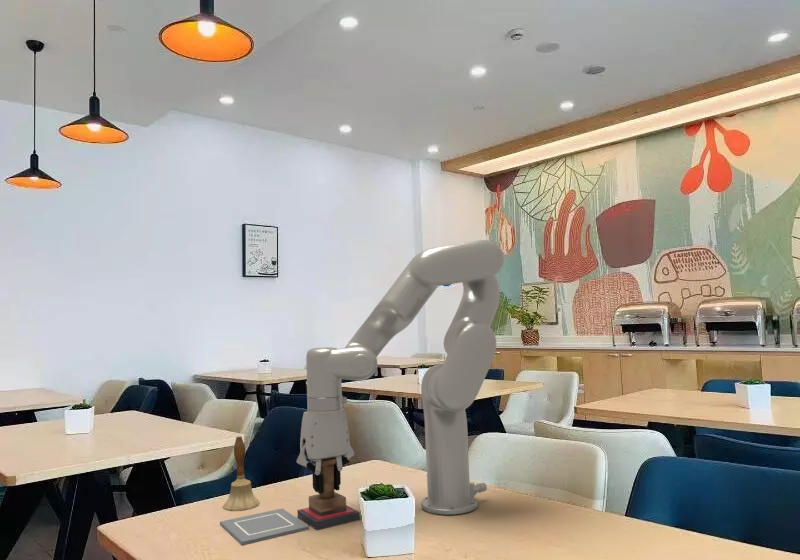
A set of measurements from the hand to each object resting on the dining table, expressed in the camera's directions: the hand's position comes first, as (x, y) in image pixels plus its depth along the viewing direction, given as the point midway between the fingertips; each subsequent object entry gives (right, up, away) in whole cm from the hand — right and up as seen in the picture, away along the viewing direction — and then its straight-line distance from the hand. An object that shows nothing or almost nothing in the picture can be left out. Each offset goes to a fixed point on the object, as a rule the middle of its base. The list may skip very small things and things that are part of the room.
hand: (326, 489), depth 130 cm
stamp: (0, -4, 0) cm, 4 cm away
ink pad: (0, -6, 0) cm, 6 cm away
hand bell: (-21, -8, +12) cm, 26 cm away
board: (-13, -6, -4) cm, 15 cm away
